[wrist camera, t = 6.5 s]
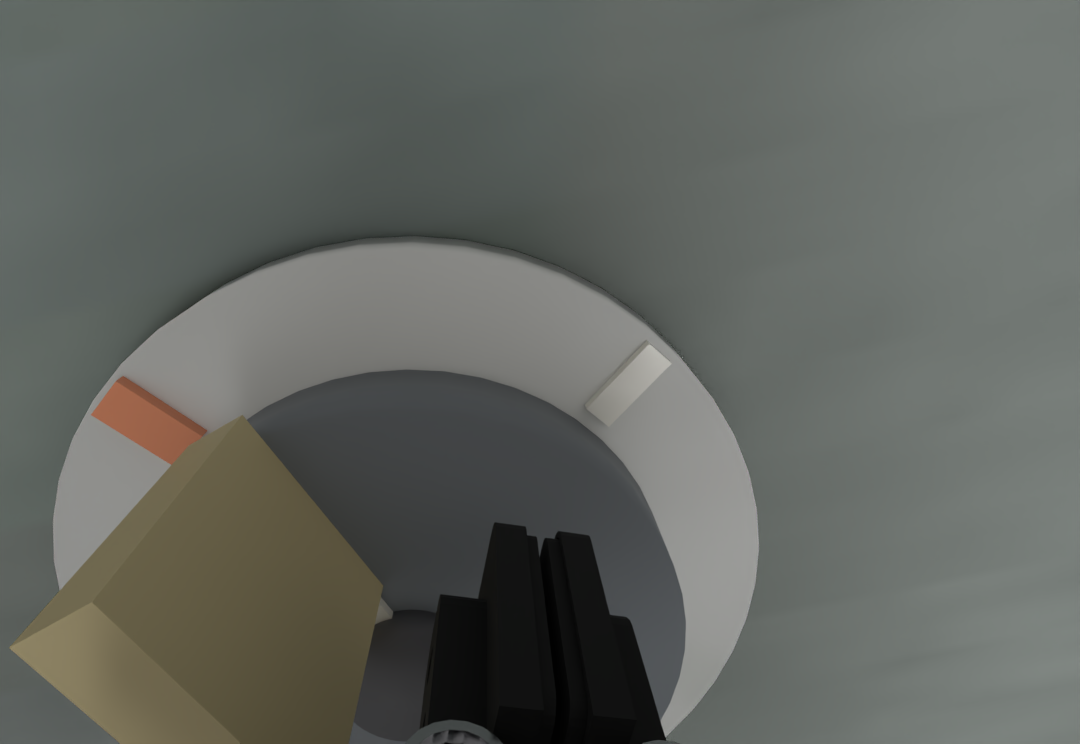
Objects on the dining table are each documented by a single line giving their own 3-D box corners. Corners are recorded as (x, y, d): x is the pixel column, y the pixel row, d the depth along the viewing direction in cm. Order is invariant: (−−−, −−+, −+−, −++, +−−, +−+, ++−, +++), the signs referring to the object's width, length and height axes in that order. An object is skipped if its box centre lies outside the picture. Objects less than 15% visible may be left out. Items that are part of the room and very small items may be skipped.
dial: (738, 654, 18) (882, 968, 11) (357, 834, 19) (291, 1204, 13) (497, 245, 13) (506, 372, 7) (28, 516, 15) (-329, 833, 8)
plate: (619, 812, 22) (630, 869, 21) (69, 734, 19) (29, 793, 18) (843, 344, 17) (883, 370, 15) (117, 137, 14) (66, 141, 12)
